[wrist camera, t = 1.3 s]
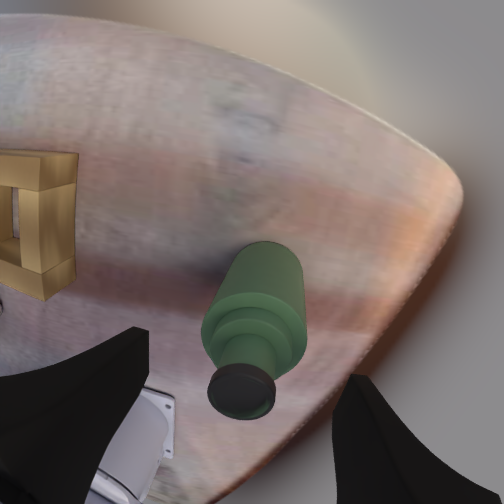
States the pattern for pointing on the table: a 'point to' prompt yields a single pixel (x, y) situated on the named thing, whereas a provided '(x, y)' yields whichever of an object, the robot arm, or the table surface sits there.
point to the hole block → (38, 221)
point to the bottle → (255, 329)
